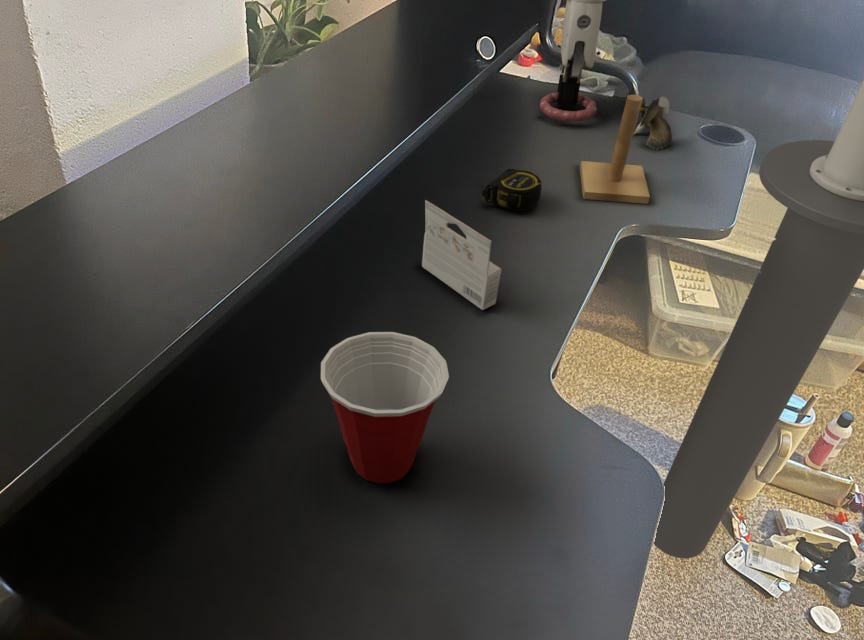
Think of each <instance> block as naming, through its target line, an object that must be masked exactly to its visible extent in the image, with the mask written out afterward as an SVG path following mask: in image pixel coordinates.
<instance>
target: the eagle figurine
mask: <svg viewBox="0 0 864 640" xmlns="http://www.w3.org/2000/svg"><path fill="white" fill-rule="evenodd" d="M642 98H643V100H642V103H641V107H640V111H639V114H640V117H641V120H640V123H639V124H638V125H637V127H635V130H634V134H633V135H637V134H640V133H642V132H643V130H644V129H645V128H647V127H649V128H650V132H649V136H648V137H647V140H646V143H645V145H646V146H648V148H650V149H652V150H654V151H655V150H657V151H659V150H660V149H661V150H663V149H664V148H668V146H670V145H671V142H672V139H673V137H672V136H673V135H672V129H671V126H670V124H669V123H668V121H667V120H666V119H665V117H664V116H668V115H669V113H670V107H671V106H670V105H671V104H670V100H669V99H668V98H667V97H665V96H660V97H659V98H658V97H657V98H656V99H652V100H651V102H650V103H649V105H647V106H646V100H645V97H642Z"/></svg>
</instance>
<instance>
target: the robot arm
mask: <svg viewBox="0 0 864 640" xmlns="http://www.w3.org/2000/svg"><path fill="white" fill-rule="evenodd" d="M606 1H607V0H566V3H565V9H564V15H563V21H562V22H563V23H562V28H561V29H562V30H561V40H560V55H561V62H562V63H561V65H562V66H561V72H560V74H559V78H558V84H557V91H556V92H559V94H558V100H557V102H556V103H557V106H561V107H576V106H577V105H578V104H577V99H578V94H580V88H581V80H582V75H583V74H582V73H583V69H584V63H585V67H586V68H588V69H592V68H593V67H594V65H595V57H596V52H597V46H598V39H599V33H600V27H601V20H602V13H603V2H606ZM834 141H835V142H834V144H833V146H832V148H831V150H830V152H829V155H825V156H822V157H819V158H817V159H815V160H814V161H813V163H812V165H811V167H810V170H809V171H810V175H811V177H812V179H813V180H814V181H815V182H816V183H817V184H818V185H820V186H821V187H823V188H824V189H826V190H828V191H830V192H832V193H834V194H837V195H839V196H842V197H845V198H849V199H852V200H857V201H863V202H864V79H862V81H861V84H860V86H859V88H858V90H857V92H856V94H855V97H854V99H853V101H852V104H851V105H850V107H849V110H848V112H847V114H846V115H845V118H844V120H843V123H842V125H841V126H840V129H839V131H838V133H837V135H836V138H835V139H834Z"/></svg>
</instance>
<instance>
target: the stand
mask: <svg viewBox="0 0 864 640" xmlns="http://www.w3.org/2000/svg"><path fill="white" fill-rule="evenodd" d="M643 98H644V97H643V96H641V95H639V94H628V95H627V96H626V100H625V104H624V108H623V114H622V116H621V121H620V123H619V124H620V125H619V129H618V132H617V137H616V141H615V145H614V149H613V153H612V156H611V161H610V162H599V161H588V160H587V161H585V160H581V161H580V163H579V177H580V183H581V192H582V198H583V200H591V201H593V200H594V201H603V202H605V201H606V202H617V203H629V204H641V205H649V202H650V199H651V195H650V191H649V187H648V183H647V180H646V176H645V171H644V168H643V165H637V164H627V160H628V157H629V153H630V149H631V145H632V141H633V137H634V135H635V134H634V132H635V131H636V126H637V122H638V119H639V114H640V107H641V103H642V100H643Z"/></svg>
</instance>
